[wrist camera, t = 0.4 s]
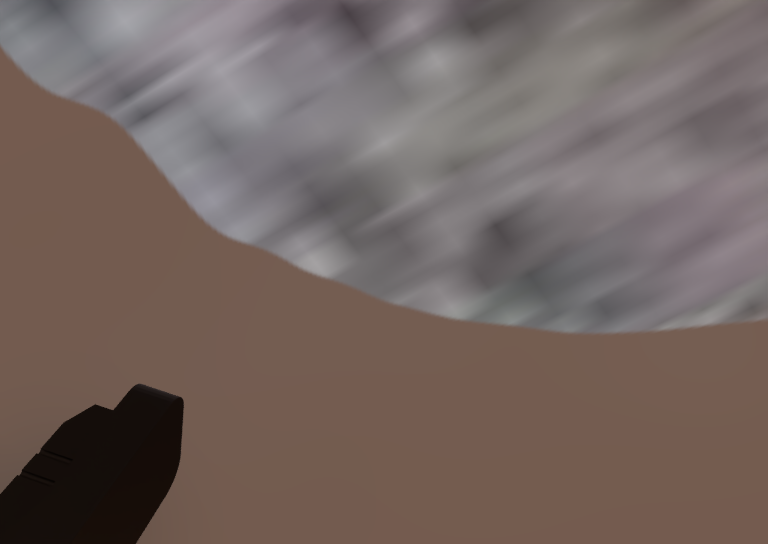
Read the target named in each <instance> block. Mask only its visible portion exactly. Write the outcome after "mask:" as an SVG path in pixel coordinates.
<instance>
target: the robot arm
mask: <svg viewBox="0 0 768 544" xmlns="http://www.w3.org/2000/svg"><path fill="white" fill-rule="evenodd" d="M183 408H184V402H183V399H182V398H181V397H179V396H176V395H173V394H169V393H167V392H164V391H161V390H158V389H155V388H152V387H149V386H146V385H143V384H137V385H135V386H134V387H133V388H132V389H131V390H130V391H129V392H128V393H127V394H126V396H125V397H124V398H123V399H122V401H121V402H120V403H119V404H118V405H117V407H116V408H115V409H114V410H110V409H107V408H104V407H101V406H98V405H93V406H92V407H90V408H88V409H86V410H85V411H83V412H81V413H80V414H78V415H76V416H74V417H73V418H71V419H69V420H67V421H66V422H64V423H63V424H62V425H61V426H60V427H59V429H58V430H57V431H56V432H55V433H54V434H53V435H52V437H51V438H50V439H49V440H48V441H47V442H46V443H45V444H44V446H43V447H42V448H41V451H40V453H39V454H36V455H35V456H34V457H33V458H32V459H31V460H30V461H29V462H28V464H27V465H26V466H25V467H24V468H23V469H22V472H21V474H20V475H19V476H18V475H17V476H16V477H15V478H14V479H13V481H12V482H11V483H10V484H9V485H8V486H7V487H6V489H5V490H4V491H3V492H2V493H1V494H0V544H136V543H137V541H138V539H139V538H140V536H141V535H142V533H143V531H144V530H145V528H146V527H147V525H148V524H149V522H150V520H151V519H152V517H153V516H154V514H155V512H156V511H157V509H158V508H159V506H160V504H161V502H162V501H163V499H164V498H165V496H166V495H167V493H168V491H169V489H170V487H171V485H172V483H173V481H174V478H175V476H176V473H177V470H178V466H179V462H180V456H181V439H182V425H183Z"/></svg>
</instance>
